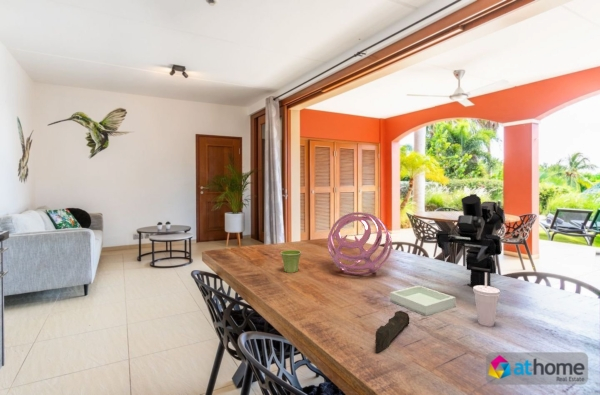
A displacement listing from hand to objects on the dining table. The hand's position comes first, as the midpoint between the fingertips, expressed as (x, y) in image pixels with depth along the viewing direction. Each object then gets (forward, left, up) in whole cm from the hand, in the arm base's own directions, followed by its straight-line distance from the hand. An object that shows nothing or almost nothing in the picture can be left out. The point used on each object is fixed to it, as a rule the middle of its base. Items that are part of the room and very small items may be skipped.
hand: (460, 258), depth 98 cm
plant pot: (+35, -61, -16) cm, 72 cm away
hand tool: (+32, +8, -16) cm, 36 cm away
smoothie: (+3, +11, -16) cm, 19 cm away
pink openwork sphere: (+9, -47, -16) cm, 50 cm away
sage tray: (+9, -7, -16) cm, 19 cm away
